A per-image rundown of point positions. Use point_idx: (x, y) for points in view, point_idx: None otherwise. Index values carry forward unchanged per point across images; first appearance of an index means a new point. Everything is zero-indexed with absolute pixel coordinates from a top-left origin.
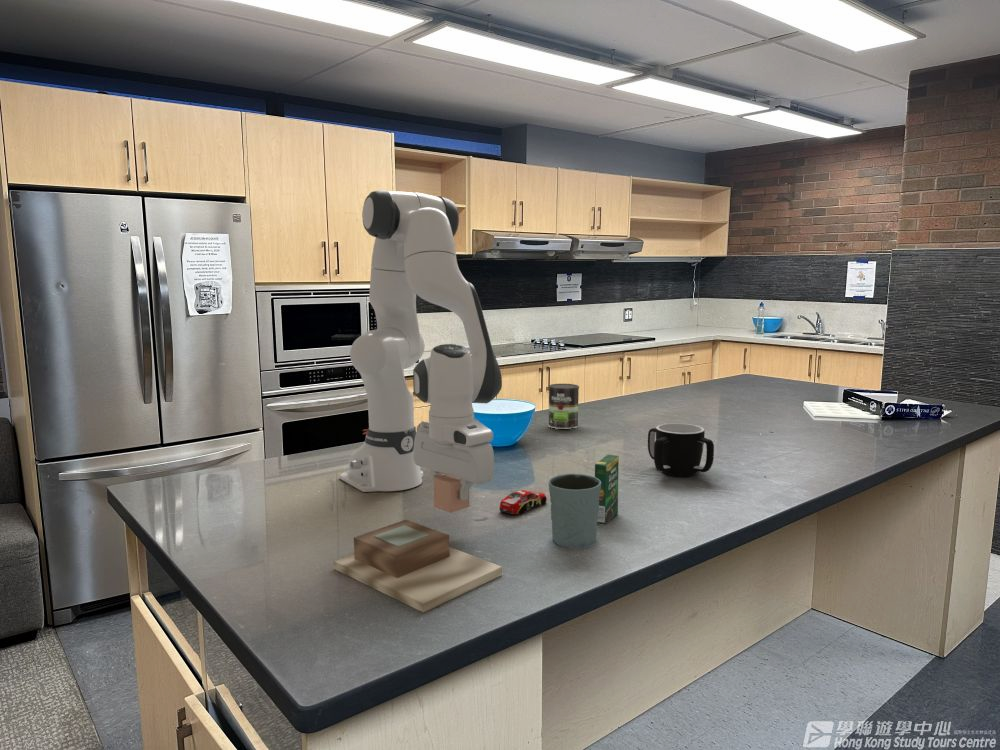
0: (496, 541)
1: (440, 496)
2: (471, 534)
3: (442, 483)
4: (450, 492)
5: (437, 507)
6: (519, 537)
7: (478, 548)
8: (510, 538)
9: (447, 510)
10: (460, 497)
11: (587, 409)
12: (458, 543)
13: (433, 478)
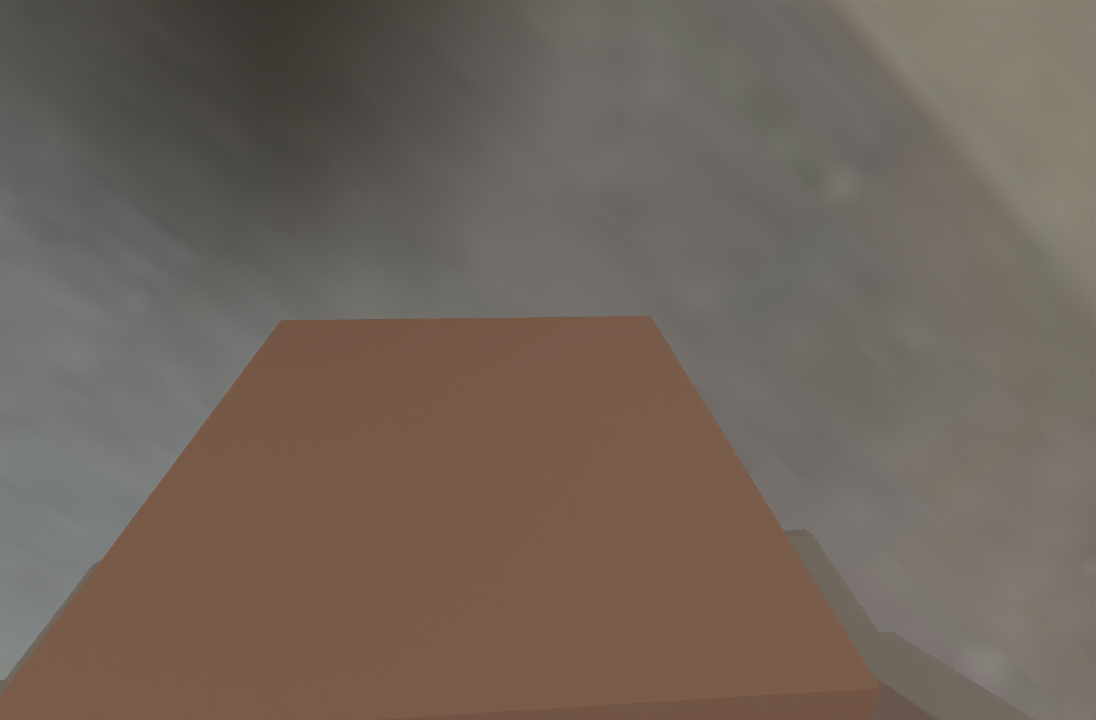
0: (74, 462)
1: (516, 412)
2: None
3: (429, 632)
4: (148, 518)
5: (575, 321)
6: (42, 614)
7: (17, 263)
8: (64, 564)
9: (354, 328)
10: None
11: None
12: (244, 219)
13: (993, 714)
